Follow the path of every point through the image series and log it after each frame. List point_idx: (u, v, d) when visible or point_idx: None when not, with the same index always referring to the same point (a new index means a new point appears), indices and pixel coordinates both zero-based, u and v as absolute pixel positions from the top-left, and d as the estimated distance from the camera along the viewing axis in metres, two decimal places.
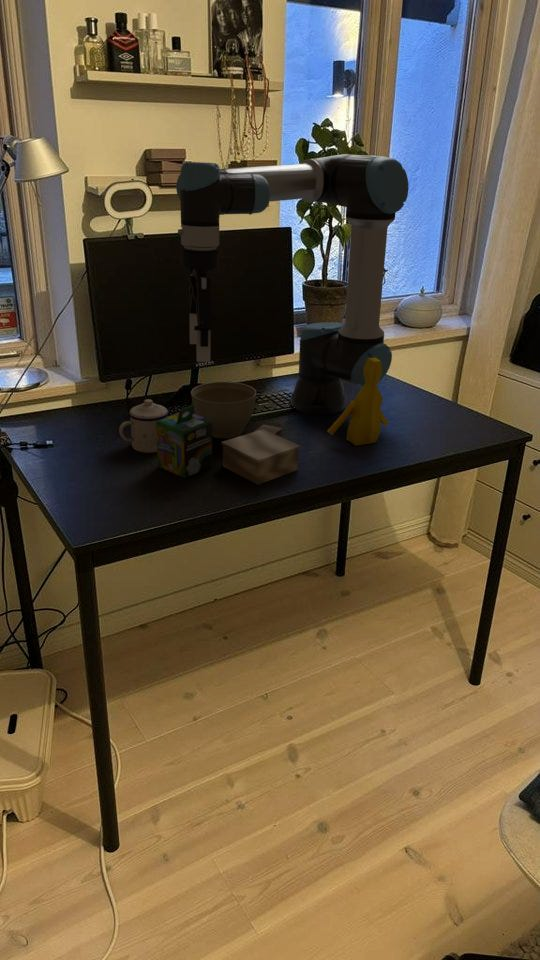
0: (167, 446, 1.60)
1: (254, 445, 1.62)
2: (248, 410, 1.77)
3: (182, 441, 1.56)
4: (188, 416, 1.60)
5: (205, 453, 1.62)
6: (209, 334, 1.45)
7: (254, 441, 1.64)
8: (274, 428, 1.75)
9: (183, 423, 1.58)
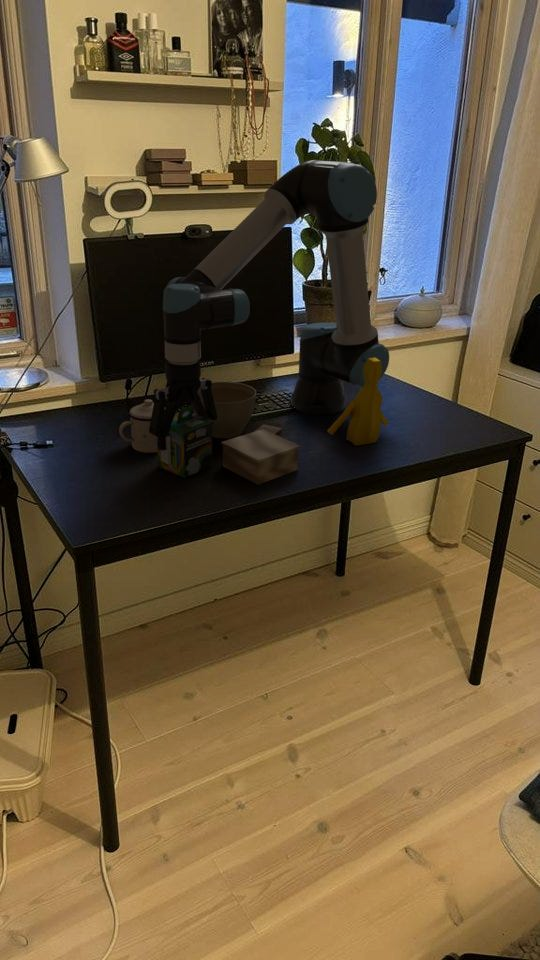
0: None
1: (254, 445, 1.62)
2: (248, 410, 1.77)
3: (181, 440, 1.56)
4: (188, 416, 1.60)
5: (205, 452, 1.62)
6: (166, 440, 1.57)
7: (254, 441, 1.64)
8: (274, 428, 1.75)
9: (183, 422, 1.58)
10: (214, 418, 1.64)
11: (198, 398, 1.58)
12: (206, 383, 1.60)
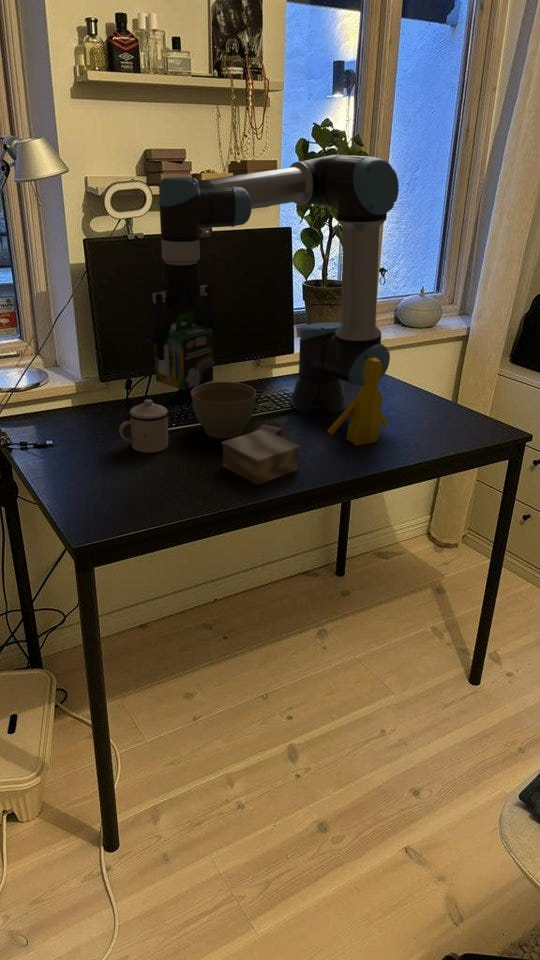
0: None
1: (254, 445, 1.62)
2: (248, 410, 1.77)
3: (180, 348, 1.47)
4: (187, 324, 1.51)
5: (206, 364, 1.53)
6: (164, 349, 1.49)
7: (254, 441, 1.64)
8: (274, 428, 1.75)
9: (182, 331, 1.50)
10: (215, 329, 1.55)
11: (198, 304, 1.50)
12: (206, 289, 1.51)
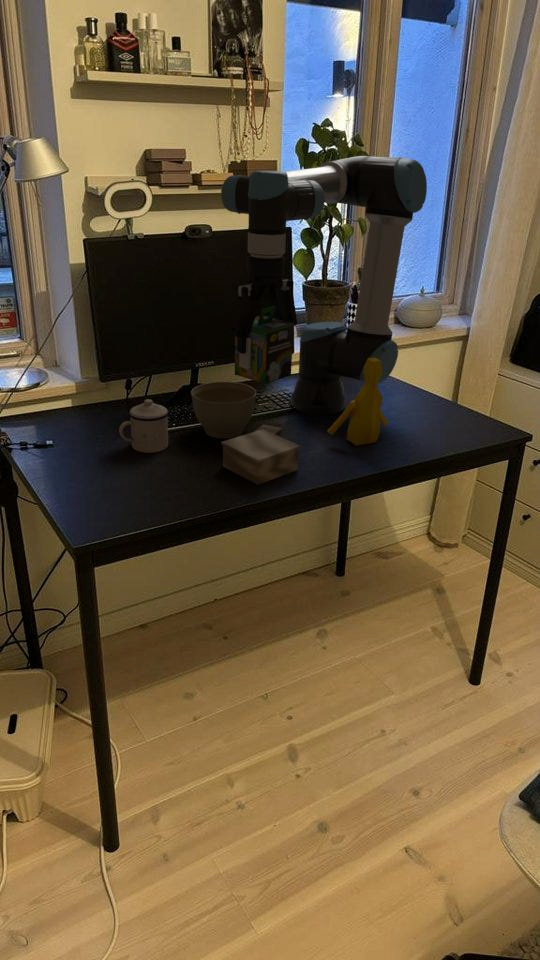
0: None
1: (254, 445, 1.62)
2: (248, 410, 1.77)
3: (264, 341, 1.47)
4: (269, 318, 1.51)
5: (285, 358, 1.53)
6: (247, 343, 1.48)
7: (254, 441, 1.64)
8: (274, 428, 1.75)
9: (264, 324, 1.49)
10: (294, 323, 1.55)
11: (280, 298, 1.49)
12: (288, 283, 1.51)
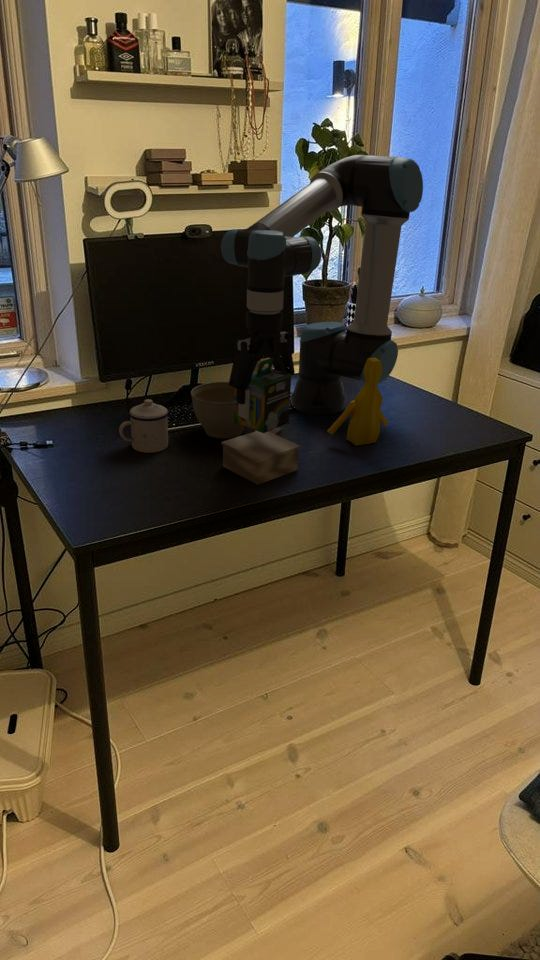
0: None
1: (254, 445, 1.62)
2: None
3: (262, 393, 1.52)
4: (267, 369, 1.56)
5: (283, 408, 1.58)
6: (246, 394, 1.53)
7: (254, 441, 1.64)
8: None
9: (263, 376, 1.54)
10: (291, 373, 1.60)
11: (278, 351, 1.54)
12: (286, 336, 1.56)
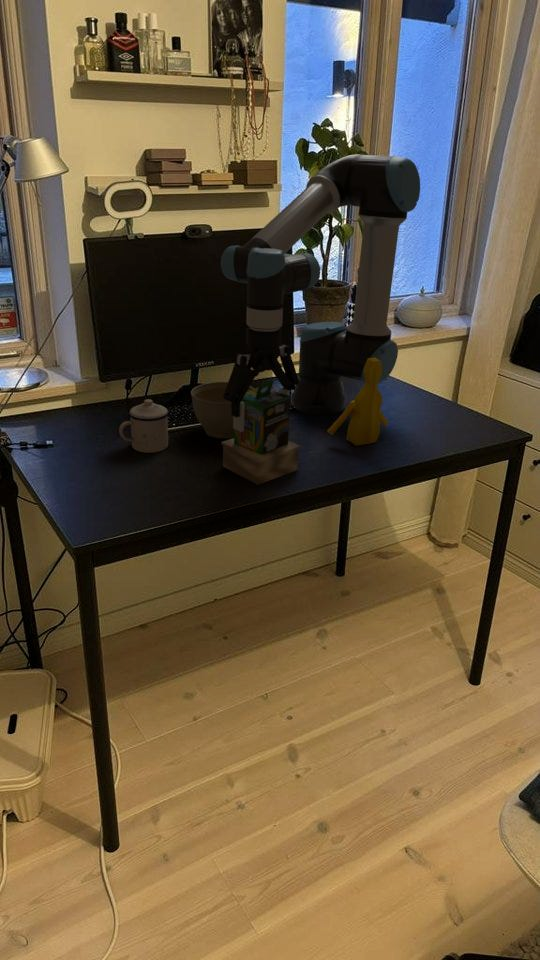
0: (245, 422, 1.58)
1: None
2: None
3: (261, 416, 1.54)
4: (266, 391, 1.58)
5: (282, 429, 1.60)
6: (241, 407, 1.53)
7: None
8: None
9: (262, 398, 1.56)
10: (296, 383, 1.62)
11: (279, 365, 1.56)
12: (285, 350, 1.57)
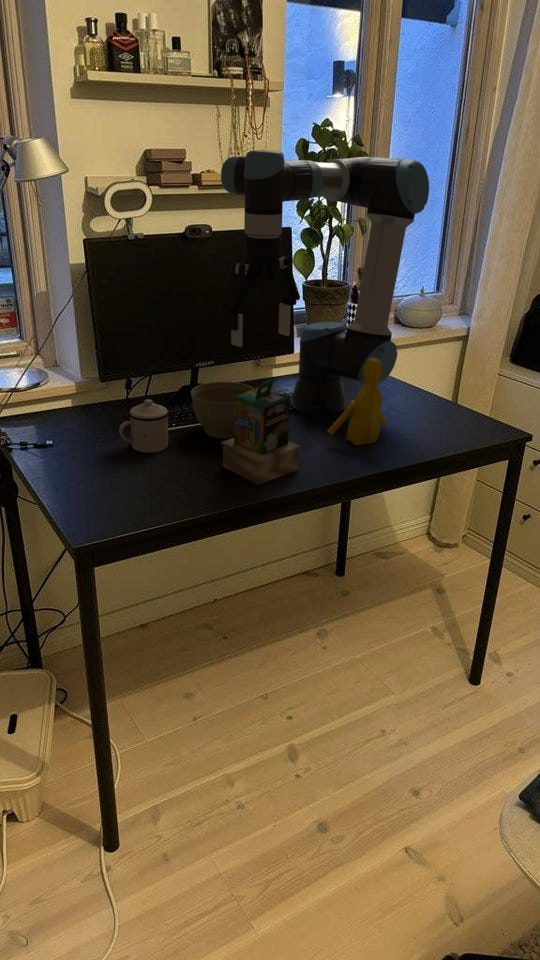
0: (245, 422, 1.58)
1: None
2: None
3: (261, 416, 1.54)
4: (266, 391, 1.58)
5: (282, 429, 1.60)
6: (239, 319, 1.47)
7: None
8: None
9: (262, 398, 1.56)
10: (297, 298, 1.56)
11: (279, 277, 1.50)
12: (285, 261, 1.51)
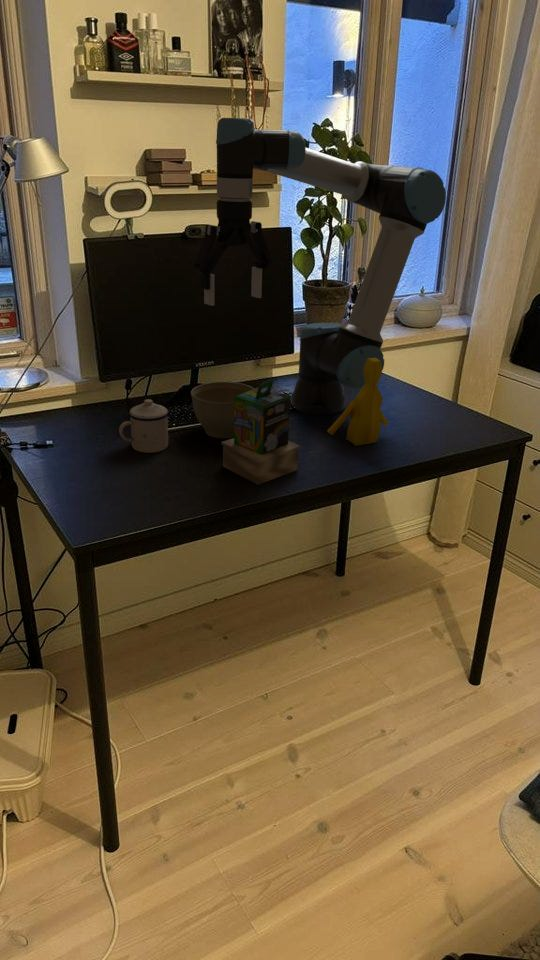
0: (245, 422, 1.58)
1: None
2: None
3: (261, 416, 1.54)
4: (266, 391, 1.58)
5: (282, 429, 1.60)
6: (211, 279, 1.55)
7: None
8: None
9: (262, 398, 1.56)
10: (268, 262, 1.64)
11: (250, 240, 1.58)
12: (256, 226, 1.59)
